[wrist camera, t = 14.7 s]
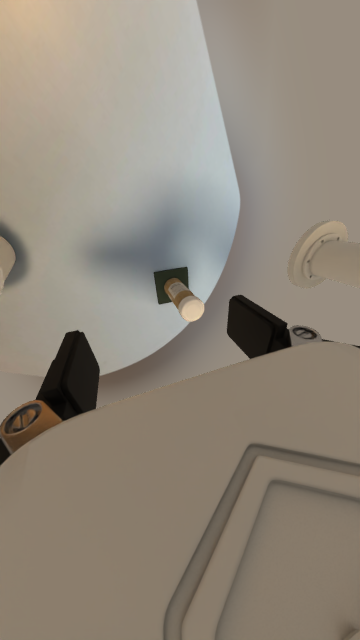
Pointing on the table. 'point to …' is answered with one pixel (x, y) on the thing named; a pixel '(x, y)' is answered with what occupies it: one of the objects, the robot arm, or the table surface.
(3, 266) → the cup
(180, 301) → the sprinkles bottle
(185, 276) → the mat
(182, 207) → the table surface
